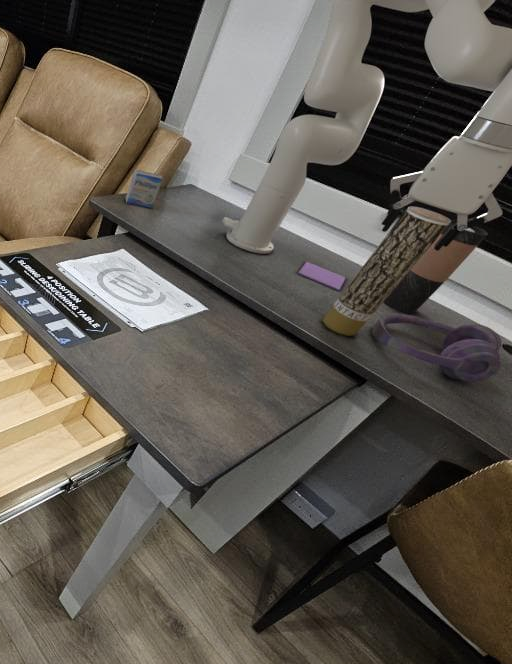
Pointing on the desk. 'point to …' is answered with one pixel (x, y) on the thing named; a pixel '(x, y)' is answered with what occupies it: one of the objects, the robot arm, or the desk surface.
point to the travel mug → (433, 269)
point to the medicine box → (143, 188)
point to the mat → (322, 276)
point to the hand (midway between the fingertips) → (409, 238)
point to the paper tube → (385, 269)
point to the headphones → (450, 347)
